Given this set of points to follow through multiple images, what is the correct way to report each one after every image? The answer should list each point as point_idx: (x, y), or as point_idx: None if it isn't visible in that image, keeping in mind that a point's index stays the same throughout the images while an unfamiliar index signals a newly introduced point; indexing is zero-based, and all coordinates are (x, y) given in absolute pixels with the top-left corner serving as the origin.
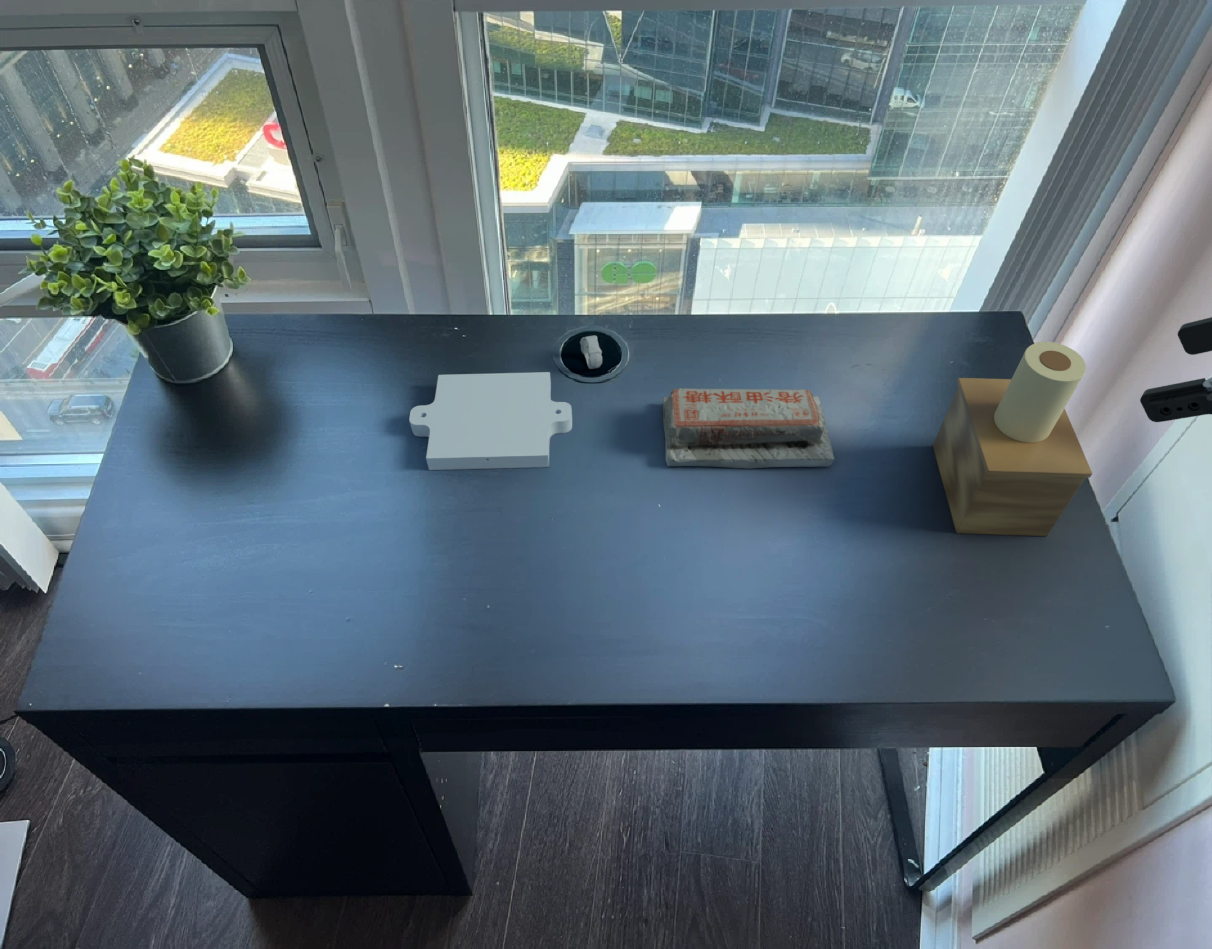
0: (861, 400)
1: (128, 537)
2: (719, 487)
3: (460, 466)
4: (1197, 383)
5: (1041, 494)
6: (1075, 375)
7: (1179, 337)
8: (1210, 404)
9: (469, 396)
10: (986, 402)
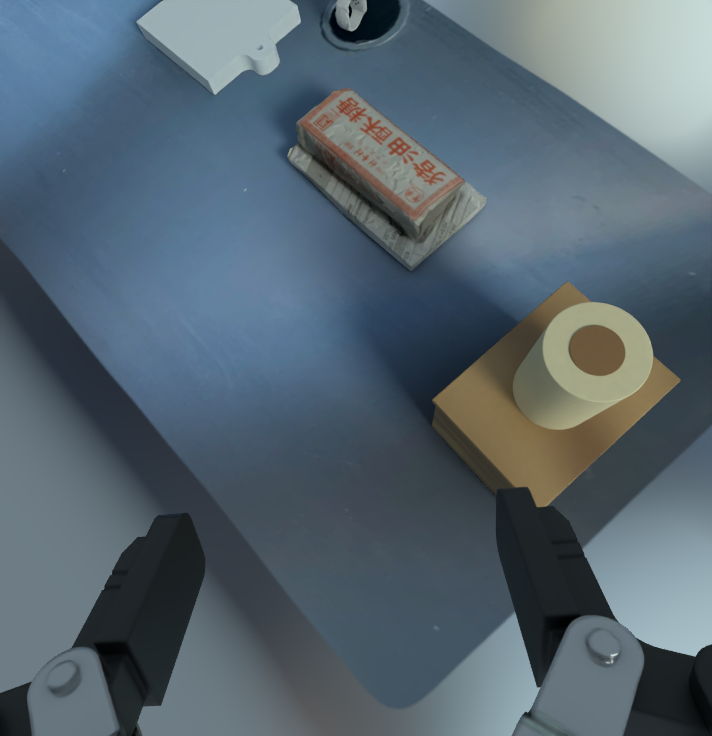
0: (533, 236)
1: None
2: (304, 213)
3: (160, 48)
4: (104, 629)
5: (494, 474)
6: (588, 392)
7: (496, 500)
8: None
9: None
10: None
